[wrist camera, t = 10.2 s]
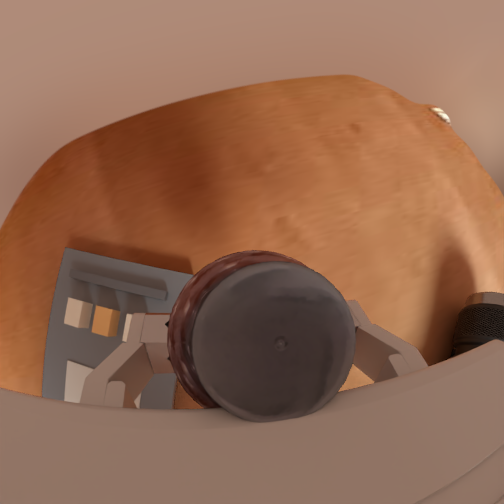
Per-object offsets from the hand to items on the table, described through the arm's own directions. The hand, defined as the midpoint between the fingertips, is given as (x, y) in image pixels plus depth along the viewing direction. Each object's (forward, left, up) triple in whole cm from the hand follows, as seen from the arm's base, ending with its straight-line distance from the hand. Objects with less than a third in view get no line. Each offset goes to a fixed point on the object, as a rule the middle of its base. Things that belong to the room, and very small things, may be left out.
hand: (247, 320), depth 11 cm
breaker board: (-7, +11, -17) cm, 22 cm away
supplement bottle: (-1, 0, -6) cm, 6 cm away
